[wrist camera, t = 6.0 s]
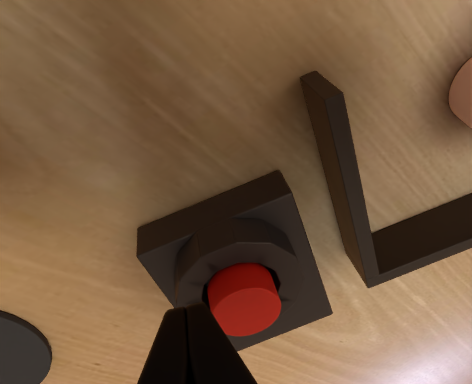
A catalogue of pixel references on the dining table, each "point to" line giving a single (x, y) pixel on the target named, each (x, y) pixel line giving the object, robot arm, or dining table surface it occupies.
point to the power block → (238, 252)
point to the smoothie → (462, 94)
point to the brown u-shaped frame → (354, 209)
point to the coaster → (22, 352)
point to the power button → (243, 299)
